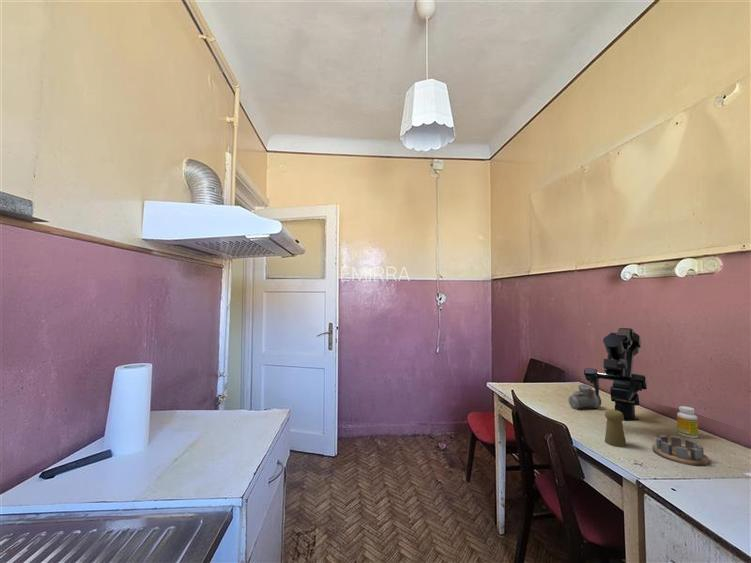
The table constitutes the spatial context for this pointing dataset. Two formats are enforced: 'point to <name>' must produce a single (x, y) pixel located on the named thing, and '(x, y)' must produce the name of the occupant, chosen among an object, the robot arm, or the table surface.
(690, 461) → the walnut base
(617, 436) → the cork
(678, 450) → the castellated collar
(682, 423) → the supplement bottle
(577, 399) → the pipe fitting
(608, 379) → the robot arm
